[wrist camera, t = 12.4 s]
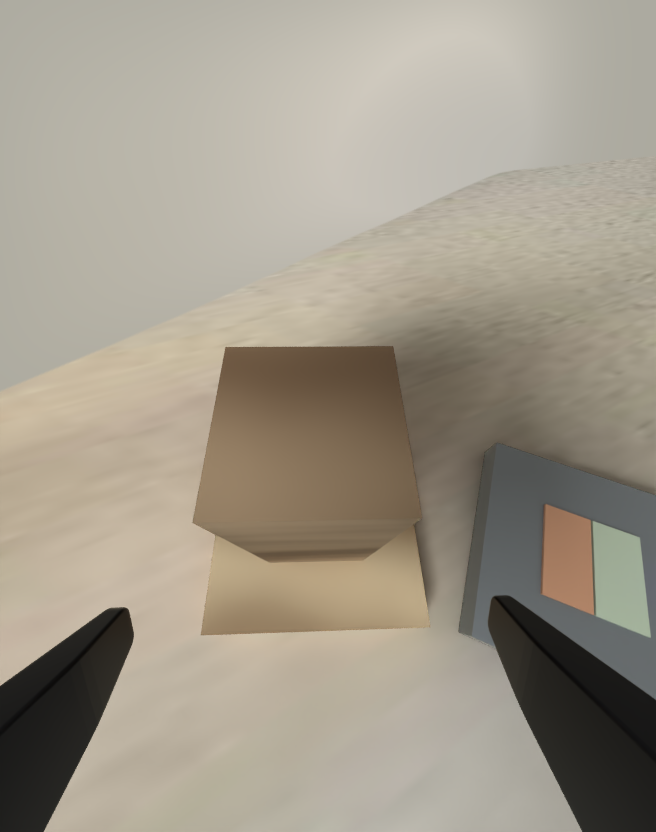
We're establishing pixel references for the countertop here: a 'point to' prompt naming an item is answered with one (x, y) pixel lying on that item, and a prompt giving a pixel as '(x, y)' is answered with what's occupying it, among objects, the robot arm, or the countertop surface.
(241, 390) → the walnut block
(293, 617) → the light wooden board
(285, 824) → the countertop surface
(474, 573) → the plate
